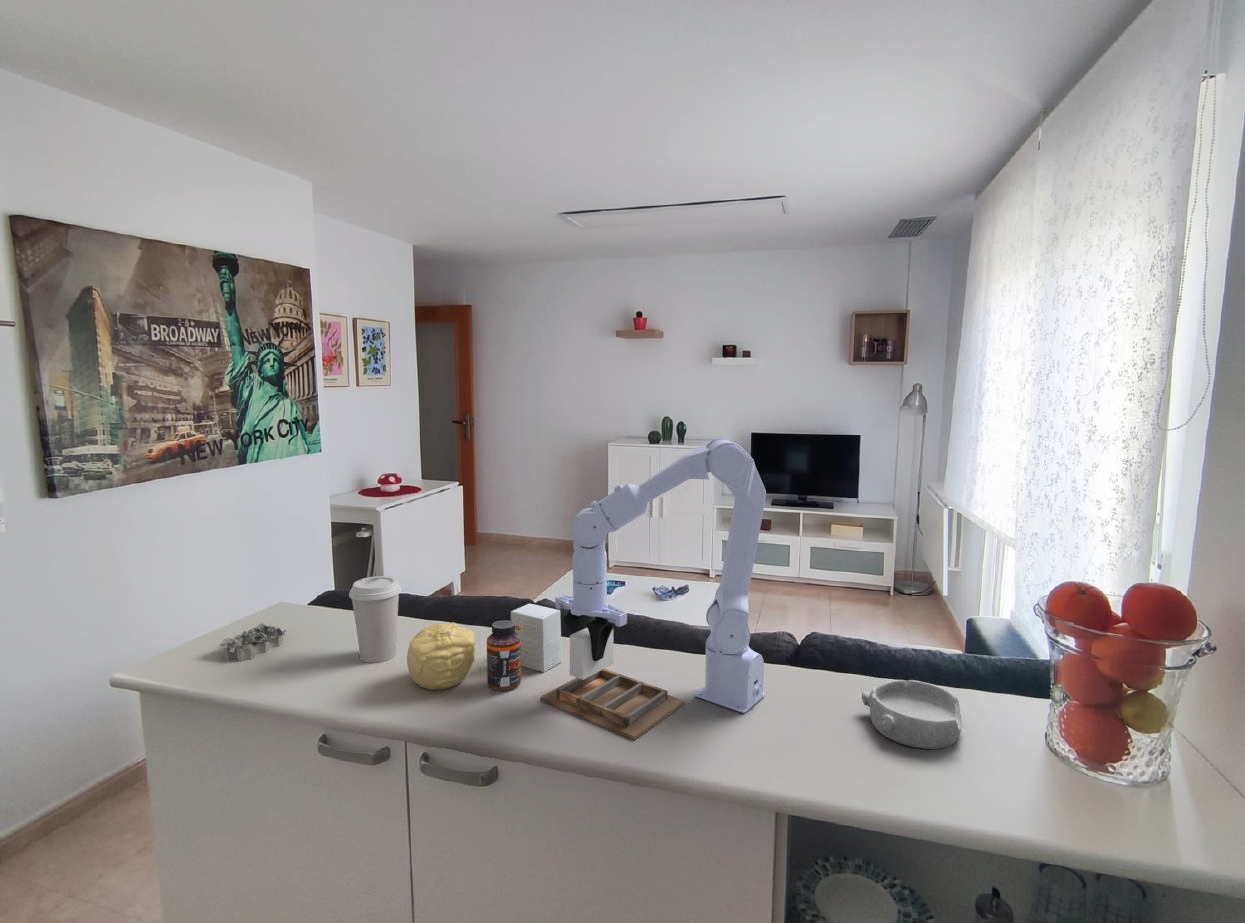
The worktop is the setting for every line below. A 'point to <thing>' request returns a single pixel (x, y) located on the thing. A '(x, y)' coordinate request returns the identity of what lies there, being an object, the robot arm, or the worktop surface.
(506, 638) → the supplement bottle
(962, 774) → the worktop surface
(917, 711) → the dish
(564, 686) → the slot rack
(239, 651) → the egg carton
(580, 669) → the blanking panel
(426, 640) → the sculpture
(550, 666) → the small box
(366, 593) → the coffee cup
